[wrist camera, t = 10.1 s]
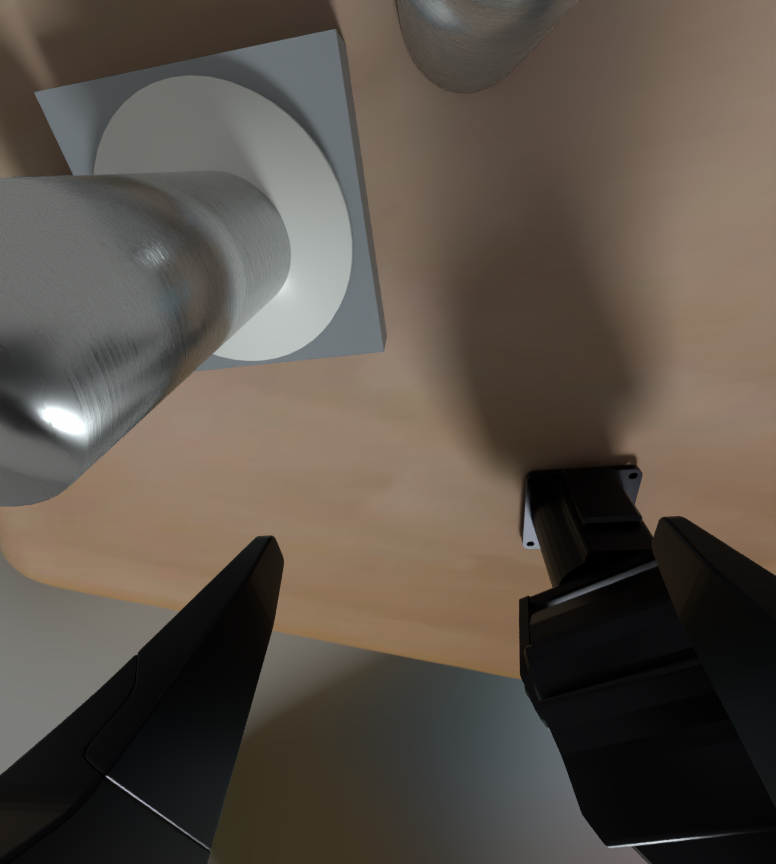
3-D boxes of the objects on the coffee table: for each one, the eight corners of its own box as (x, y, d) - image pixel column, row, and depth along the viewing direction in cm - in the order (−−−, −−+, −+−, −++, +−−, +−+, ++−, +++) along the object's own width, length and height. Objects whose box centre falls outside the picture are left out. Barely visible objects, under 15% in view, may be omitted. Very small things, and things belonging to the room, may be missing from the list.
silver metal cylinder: (275, 326, 18) (88, 539, 8) (159, 280, 17) (-218, 450, 7) (305, 206, 15) (79, 293, 5) (170, 144, 14) (-418, 102, 4)
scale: (386, 336, 21) (378, 378, 17) (136, 363, 22) (74, 407, 18) (345, 44, 15) (316, -1, 11) (8, 113, 16) (-124, 97, 12)
